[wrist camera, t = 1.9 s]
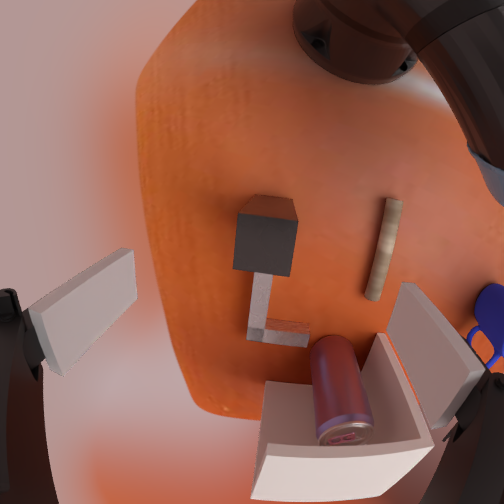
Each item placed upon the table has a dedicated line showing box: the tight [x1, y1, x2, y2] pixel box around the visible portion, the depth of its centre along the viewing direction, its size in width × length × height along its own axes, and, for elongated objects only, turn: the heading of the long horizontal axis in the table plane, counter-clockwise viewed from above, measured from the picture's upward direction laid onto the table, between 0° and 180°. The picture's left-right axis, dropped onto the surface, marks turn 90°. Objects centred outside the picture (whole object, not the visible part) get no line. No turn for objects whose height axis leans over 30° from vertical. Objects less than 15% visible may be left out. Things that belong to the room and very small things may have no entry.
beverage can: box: [310, 335, 374, 446], centre depth 28 cm, size 6×6×15 cm
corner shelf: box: [251, 333, 434, 502], centre depth 26 cm, size 12×15×19 cm
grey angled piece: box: [233, 194, 310, 348], centre depth 26 cm, size 17×8×12 cm, turn 174°
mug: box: [466, 284, 504, 369], centre depth 26 cm, size 8×12×10 cm
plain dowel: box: [364, 198, 403, 301], centre depth 29 cm, size 12×2×2 cm, turn 174°
